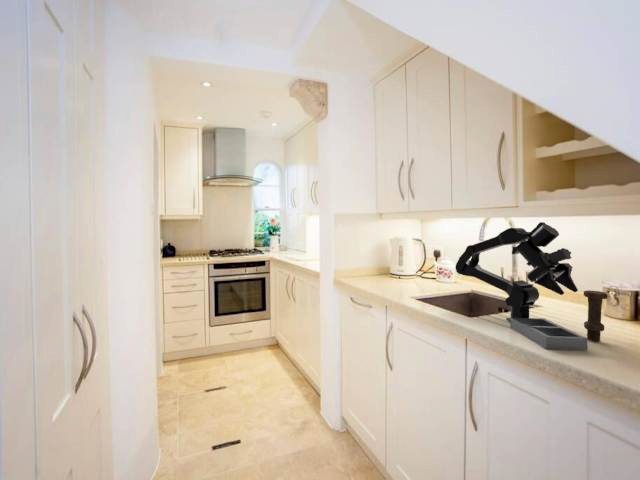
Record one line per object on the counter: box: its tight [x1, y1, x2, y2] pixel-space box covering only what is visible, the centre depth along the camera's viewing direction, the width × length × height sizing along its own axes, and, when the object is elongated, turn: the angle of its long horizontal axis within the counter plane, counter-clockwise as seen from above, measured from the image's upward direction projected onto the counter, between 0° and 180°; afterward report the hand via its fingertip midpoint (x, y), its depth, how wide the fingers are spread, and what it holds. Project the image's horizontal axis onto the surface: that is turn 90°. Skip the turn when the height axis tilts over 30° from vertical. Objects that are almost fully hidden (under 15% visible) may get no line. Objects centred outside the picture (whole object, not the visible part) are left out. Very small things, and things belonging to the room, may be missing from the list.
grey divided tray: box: [510, 317, 589, 352], centre depth 101 cm, size 20×11×4 cm, turn 175°
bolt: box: [583, 289, 608, 343], centre depth 99 cm, size 6×5×15 cm
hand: (569, 292), depth 104 cm, fingers open, 9 cm apart
